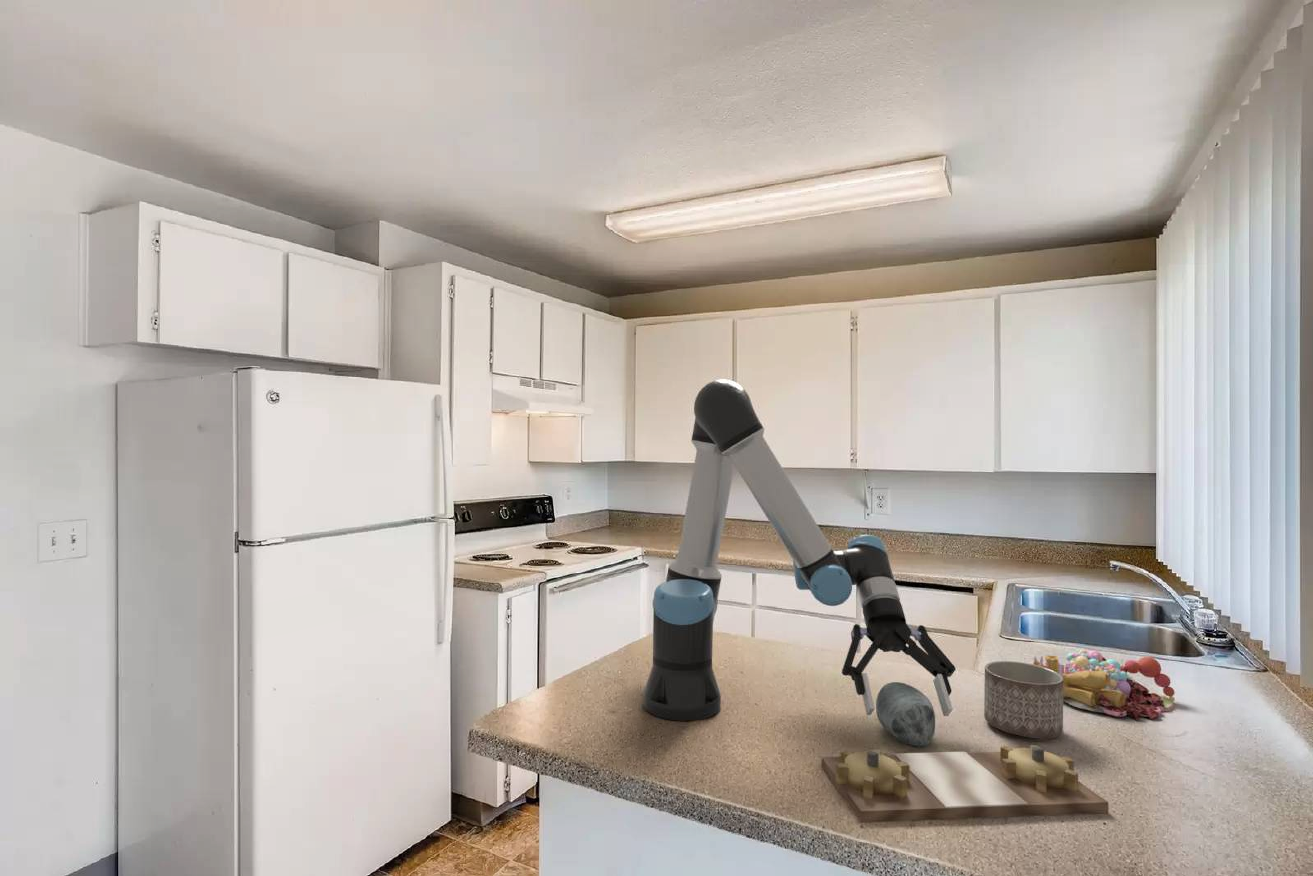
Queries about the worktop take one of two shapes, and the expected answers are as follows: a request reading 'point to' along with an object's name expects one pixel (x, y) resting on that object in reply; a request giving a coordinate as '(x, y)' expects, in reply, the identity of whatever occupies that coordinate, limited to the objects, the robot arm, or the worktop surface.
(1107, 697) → the candy landscape model
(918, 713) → the grey streaked egg
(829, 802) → the worktop surface
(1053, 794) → the gear board
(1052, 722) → the planter
